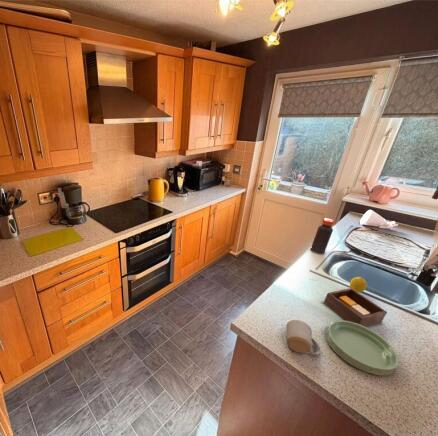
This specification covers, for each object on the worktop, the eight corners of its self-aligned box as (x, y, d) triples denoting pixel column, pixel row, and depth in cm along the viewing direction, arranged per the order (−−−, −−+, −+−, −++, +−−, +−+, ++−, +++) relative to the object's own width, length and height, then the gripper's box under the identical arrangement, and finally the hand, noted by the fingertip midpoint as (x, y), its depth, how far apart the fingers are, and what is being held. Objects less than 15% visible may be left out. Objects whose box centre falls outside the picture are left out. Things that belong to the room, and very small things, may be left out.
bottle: (325, 254, 132) (338, 223, 124) (312, 252, 134) (323, 221, 126) (322, 248, 138) (334, 218, 129) (309, 246, 140) (319, 217, 132)
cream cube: (354, 310, 94) (358, 304, 93) (366, 319, 90) (370, 313, 89) (348, 312, 93) (351, 305, 92) (359, 321, 89) (363, 314, 88)
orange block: (342, 301, 99) (345, 295, 97) (353, 309, 94) (357, 303, 93) (336, 303, 98) (339, 296, 96) (347, 311, 94) (350, 305, 92)
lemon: (364, 292, 104) (371, 278, 101) (359, 297, 102) (367, 283, 98) (349, 286, 109) (355, 272, 105) (344, 290, 106) (351, 276, 102)
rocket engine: (405, 217, 156) (373, 207, 162) (400, 231, 153) (368, 220, 160) (392, 224, 166) (363, 213, 173) (388, 237, 163) (358, 226, 170)
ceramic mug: (283, 348, 80) (290, 333, 76) (283, 330, 86) (289, 316, 83) (320, 363, 75) (328, 348, 72) (317, 343, 82) (325, 328, 79)
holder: (346, 298, 102) (351, 287, 99) (380, 323, 90) (387, 312, 87) (323, 303, 99) (327, 292, 96) (355, 329, 87) (362, 318, 84)
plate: (351, 322, 90) (354, 316, 88) (408, 368, 74) (414, 361, 72) (313, 332, 86) (316, 325, 84) (365, 383, 70) (370, 375, 68)
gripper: (463, 244, 60) (429, 294, 67) (505, 236, 64) (469, 284, 71) (426, 231, 67) (399, 277, 74) (466, 224, 70) (436, 269, 78)
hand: (433, 281), depth 73 cm, fingers open, 9 cm apart
